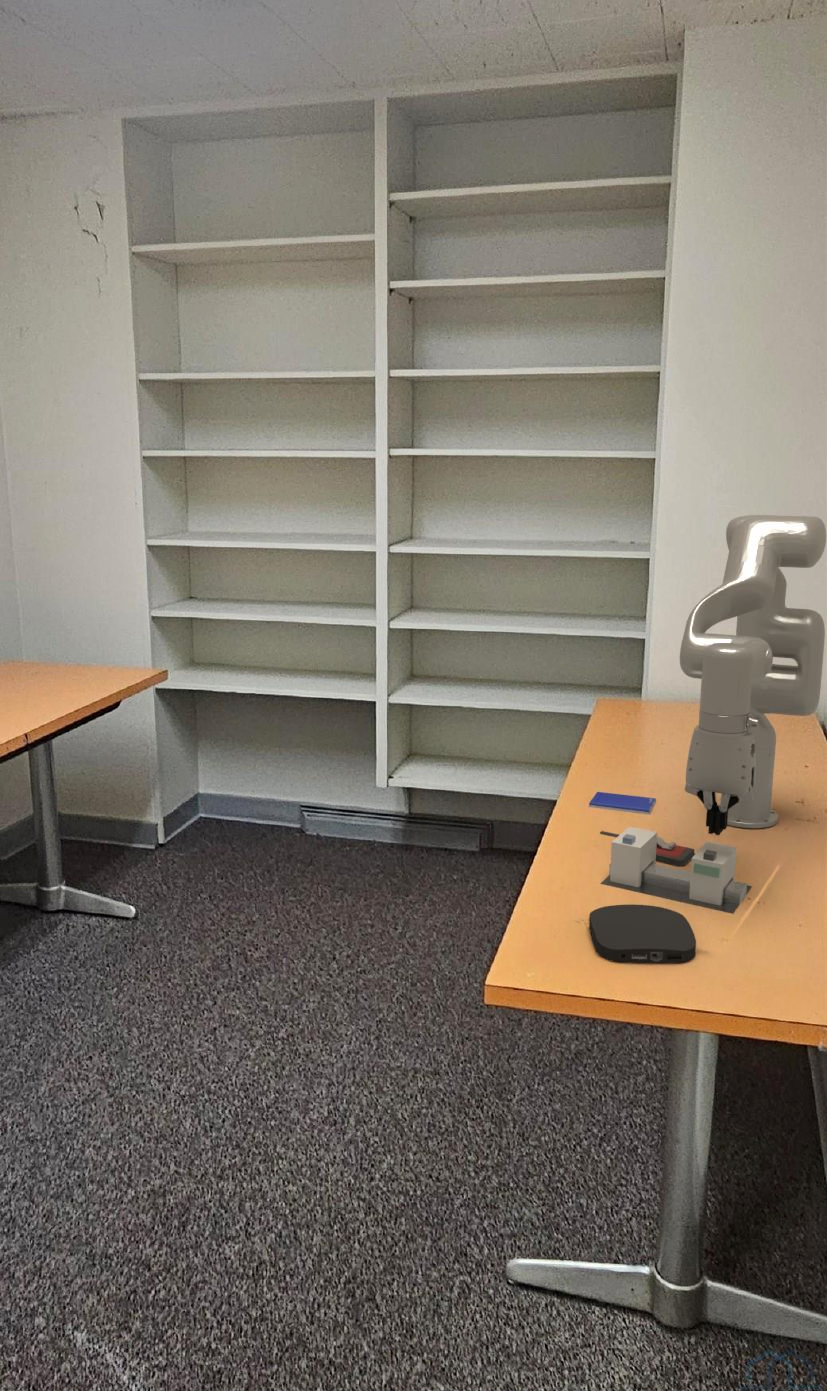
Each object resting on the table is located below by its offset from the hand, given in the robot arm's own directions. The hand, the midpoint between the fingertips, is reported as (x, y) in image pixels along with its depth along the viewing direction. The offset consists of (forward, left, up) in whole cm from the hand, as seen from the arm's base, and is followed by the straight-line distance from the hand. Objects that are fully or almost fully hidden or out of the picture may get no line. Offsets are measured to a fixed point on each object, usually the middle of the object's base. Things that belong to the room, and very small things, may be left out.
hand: (716, 831), depth 163 cm
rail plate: (0, -6, -12) cm, 13 cm away
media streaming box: (+20, -5, -12) cm, 24 cm away
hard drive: (-36, -29, -13) cm, 48 cm away
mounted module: (0, -14, -11) cm, 17 cm away
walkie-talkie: (-13, -16, -12) cm, 24 cm away
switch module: (0, 0, -11) cm, 11 cm away
